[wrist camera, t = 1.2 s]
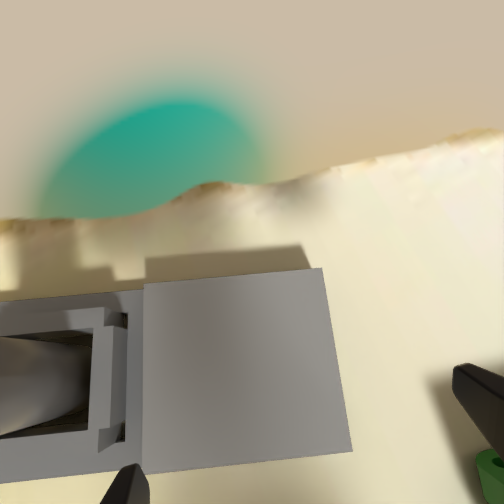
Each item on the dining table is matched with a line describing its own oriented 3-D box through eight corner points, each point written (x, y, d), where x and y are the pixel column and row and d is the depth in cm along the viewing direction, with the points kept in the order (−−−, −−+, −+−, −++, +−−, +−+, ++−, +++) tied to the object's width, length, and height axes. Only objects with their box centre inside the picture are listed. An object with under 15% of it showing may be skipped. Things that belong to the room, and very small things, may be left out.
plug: (105, 412, 22) (-81, 479, 9) (33, 420, 22) (-254, 498, 9) (108, 339, 23) (-50, 314, 11) (40, 346, 23) (-199, 327, 11)
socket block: (341, 441, 21) (358, 456, 18) (-25, 482, 20) (-78, 505, 17) (314, 276, 25) (325, 263, 21) (0, 305, 24) (-40, 296, 21)
